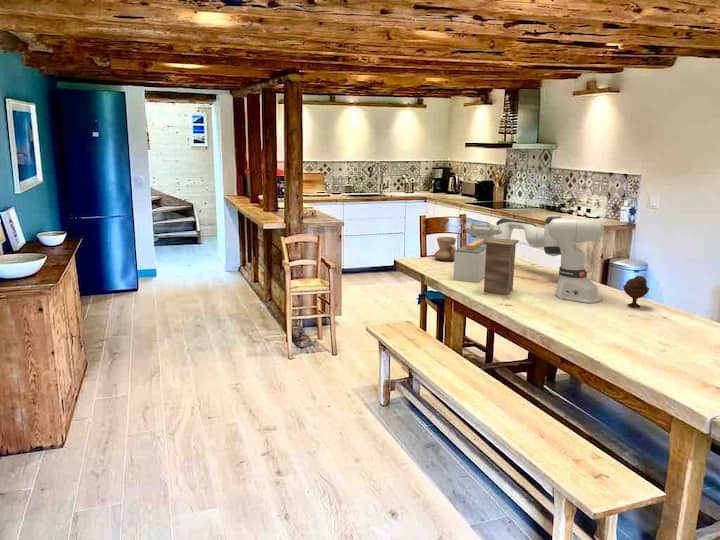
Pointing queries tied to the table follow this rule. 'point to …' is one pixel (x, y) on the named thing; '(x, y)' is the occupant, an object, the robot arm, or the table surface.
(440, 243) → the ceramic jug
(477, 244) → the terracotta block
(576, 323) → the table surface
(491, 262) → the walnut stand
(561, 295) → the robot arm
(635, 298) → the ice cream bowl
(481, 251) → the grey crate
